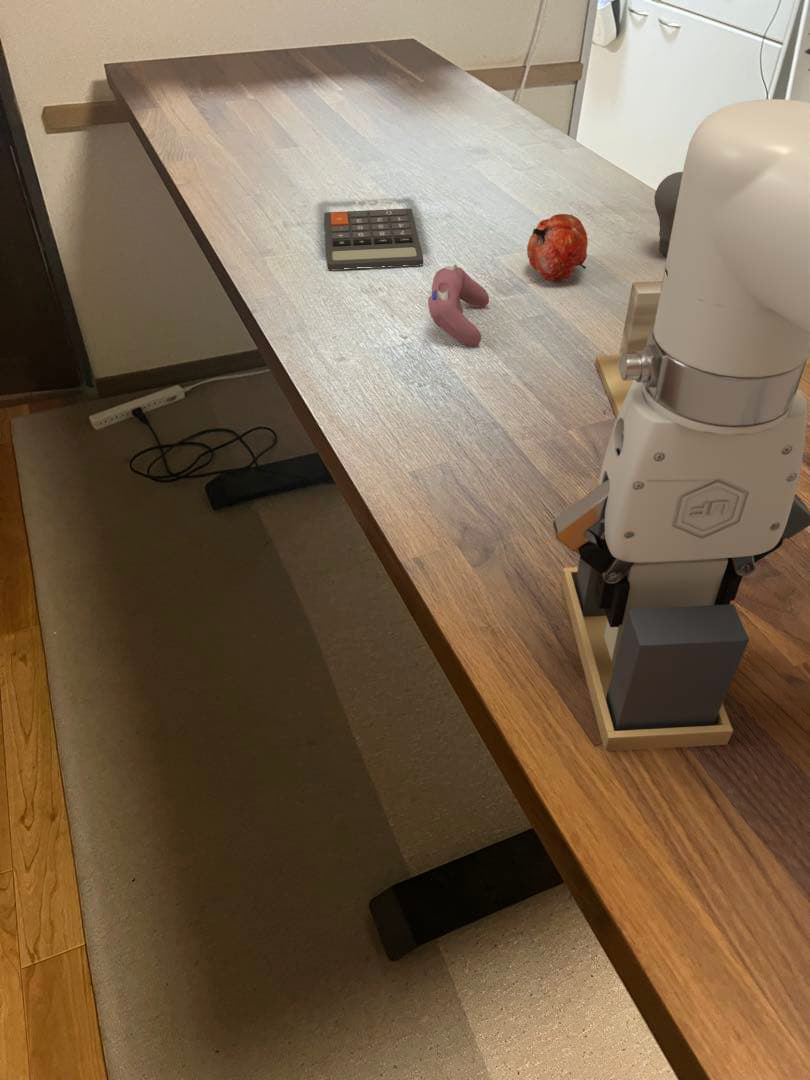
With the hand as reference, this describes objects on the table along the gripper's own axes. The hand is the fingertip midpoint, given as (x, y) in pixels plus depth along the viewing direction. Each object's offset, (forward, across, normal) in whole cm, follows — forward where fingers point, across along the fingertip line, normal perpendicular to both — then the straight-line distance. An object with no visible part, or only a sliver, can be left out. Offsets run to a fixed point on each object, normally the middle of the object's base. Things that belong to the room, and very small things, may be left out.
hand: (660, 606), depth 56 cm
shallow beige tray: (+6, 0, +1) cm, 6 cm away
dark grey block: (+6, 0, -5) cm, 7 cm away
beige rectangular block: (+4, 0, 0) cm, 4 cm away
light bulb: (+6, +19, +62) cm, 65 cm away
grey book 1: (+6, 0, +6) cm, 8 cm away
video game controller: (+5, -8, +48) cm, 49 cm away
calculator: (+5, -17, +69) cm, 71 cm away
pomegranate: (+5, +5, +58) cm, 59 cm away
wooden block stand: (+6, +10, +30) cm, 32 cm away
